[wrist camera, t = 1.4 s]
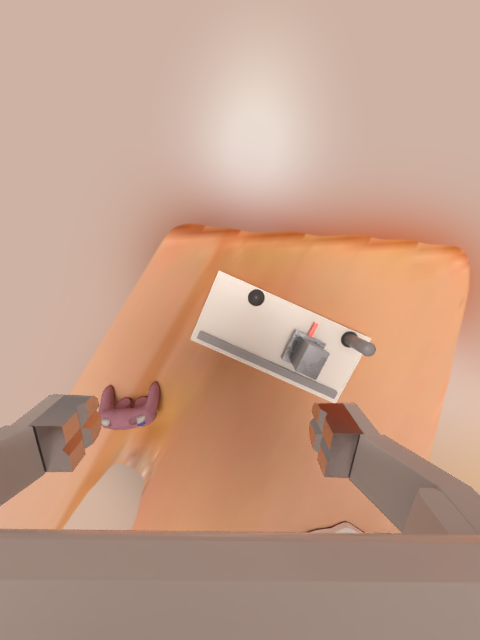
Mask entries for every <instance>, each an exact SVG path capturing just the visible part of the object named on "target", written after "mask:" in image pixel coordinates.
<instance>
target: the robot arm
mask: <svg viewBox="0 0 480 640" xmlns="http://www.w3.org/2000/svg"><path fill="white" fill-rule="evenodd" d="M98 407H99V402H98V398H96V397H95V396H82V395H58V394H54V395H49V396H48V397H47V398H45V399H44V400H43V401H42V402H40V403H39V404H38V405H37V406H35V407H34V408H32V409H31V410H30V411H29V412H27V413H26V414H25V415H24V416H22V417H21V418H20V419H18V420H17V421H16V422H15V423H13V424H12V425H11V426H4V427H1V428H0V506H1V505H2V504H4V503H5V502H7V501H8V500H9V499H11V498H12V497H14V496H15V495H16V494H18V493H19V492H20V491H22V490H23V489H25V488H26V487H27V486H29V485H30V484H32V483H33V482H34V481H36V480H37V479H38V478H40V477H41V476H43V475H44V474H45V472H73V470H74V469H75V468H76V466H77V465H78V464H79V462H80V461H81V460H82V458H83V457H84V455H85V448H87V447H88V446H90V445H92V444H93V443H94V442H95V440H96V439H97V437H98V435H99V433H100V430H101V424H102V420H101V416H100V415H99V413H98V412H97V411H96V410H97V408H98ZM312 413H313V415H314V418H313V419H312V420H311V421H310V427H309V433H310V440H311V444H312V447H313V449H314V450H316V451H317V452H318V458H317V460H318V462H319V465H320V467H321V470H322V473H323V475H324V477H339V478H349V480H350V481H351V482H352V483H353V484H354V485H355V486H356V487H357V488H358V489H359V490H360V491H361V492H362V493H363V494H364V495H365V496H366V497H367V498H368V499H369V500H370V501H371V502H372V503H373V504H374V505H375V506H376V507H377V508H378V509H379V510H380V511H381V512H382V513H383V514H384V515H385V516H386V517H387V518H388V519H389V520H390V521H391V522H392V523H393V524H394V525H395V526H396V527H397V528H398V529H399V530H400V531H401V532H402V534H389V533H363V532H362V531H360V530H359V529H357V528H356V527H354V526H353V525H351V524H350V523H347V522H344V523H341V524H338V525H336V526H334V527H332V528H328V529H320V530H315V531H312V532H309V533H307V532H224V531H137V530H60V529H0V640H480V495H479V494H477V492H476V491H474V489H473V488H471V487H470V486H468V485H467V484H465V483H463V482H461V481H460V480H458V479H457V478H455V477H453V476H452V475H450V474H448V473H447V472H445V471H443V470H442V469H440V468H438V467H437V466H435V465H433V464H432V463H430V462H429V461H427V460H425V459H424V458H422V457H420V456H419V455H417V454H415V453H414V452H412V451H410V450H409V449H407V448H405V447H404V446H402V445H400V444H399V443H397V442H395V441H394V440H392V439H390V438H389V437H387V436H385V435H380V434H379V433H378V431H377V430H376V429H375V427H374V426H373V425H372V424H371V422H370V421H369V420H368V418H367V417H366V416H365V415H364V413H363V412H362V411H361V409H360V408H359V407H358V405H357V404H355V403H314V405H313V408H312Z"/></svg>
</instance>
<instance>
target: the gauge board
mask: <svg viewBox="0 0 480 640" xmlns="http://www.w3.org/2000/svg"><path fill="white" fill-rule="evenodd" d="M314 322H315V323H317V324H318V326H317V328H316V330H315V332H314V334H313V336H312V337H313V338H316V339H318V340H320V341H322V342H324V343H326V346H325V348H324V349H325V350H326V351H327V352H329V353H330V355H329V357H328V359H327V360H326V362H325V364H324V366H323V368H322V370H321V372H320V374H319V376H318V378H317V379H316V380H314V379H312V378H310V377H308V376H305V375H303V374H301V373H299V372H296V371H295V369H294V367H293V365H292V364H291V363H289V362H286V361H284V360H282V358H281V356H282V354H283V352H284V350H285V348H286V346H287V344H288V342H289V340H290V338H291V336H292V334H293V332H294V330H295V329H296V330H298V331H300V332H302V333H304V334H307V335H308V334H309V332H310V330H311V328H312V326H313V324H314ZM190 340H192V341H194V342H197V343H199V344H201V345H203V346H206V347H208V348H210V349H213V350H215V351H217V352H219V353H222V354H224V355H226V356H228V357H231V358H233V359H235V360H237V361H240V362H242V363H244V364H246V365H249V366H251V367H253V368H256V369H258V370H260V371H262V372H265V373H267V374H269V375H271V376H274V377H276V378H278V379H280V380H283V381H285V382H287V383H289V384H292V385H294V386H296V387H299V388H301V389H303V390H305V391H308V392H310V393H312V394H314V395H317V396H319V397H321V398H323V399H326V400H328V401H330V402H332V403H336V402H337V400H338V399H339V397H340V395H341V393H342V391H343V389H344V388H345V386H346V384H347V382H348V380H349V378H350V377H351V375H352V373H353V371H354V369H355V368H356V366H357V364H358V362H359V360H360V358H361V357H362V355H365V356H372V355H373V354H374V353H375V351H376V348H375V346H374V345H373V344H372V343H370V340H371V338H369V337H367V336H364V335H362V334H360V333H358V332H355V331H353V330H351V329H349V328H346V327H344V326H342V325H340V324H338V323H335V322H333V321H331V320H329V319H326V318H324V317H322V316H320V315H317V314H315V313H313V312H311V311H309V310H306V309H304V308H302V307H300V306H297V305H295V304H293V303H291V302H288V301H286V300H284V299H282V298H280V297H277V296H275V295H273V294H271V293H268V292H266V291H264V290H262V289H259V288H257V287H255V286H253V285H250V284H248V283H246V282H244V281H242V280H239V279H237V278H235V277H233V276H230V275H228V274H226V273H224V272H221V271H218V274H217V276H216V279H215V281H214V283H213V286H212V288H211V291H210V293H209V295H208V298H207V300H206V303H205V305H204V307H203V310H202V312H201V315H200V317H199V319H198V322H197V324H196V327H195V329H194V331H193V334H192V336H191V339H190Z"/></svg>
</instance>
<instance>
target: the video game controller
mask: <svg viewBox="0 0 480 640" xmlns="http://www.w3.org/2000/svg"><path fill="white" fill-rule="evenodd" d="M158 401H159V386H158V384H157V383H156V382H154V383H152V385H151V386H150V388H149V393H148V397H147V398H146V397H141V398H138V399H137V400H136V401H135V403H134V406H135V408H131V407H132V403H131V401H130V399H128V398H124V399H122V400H120V401H119V402H118V403H117V404H116V405H114V392H113V388H112V387H111V386H108V387H106V388H105V390H104V391H103V394H102V398H101V403H100V408H99V415H100V416H101V420H102V424H101V425H102V426H103V427H104V428H109V429H113V430H126V429H132V428H136V427H138V426H146V425H149V424H150V423H152V422H153V421H154V420H155V418H156V415H157V411H156V410H157V406H158Z"/></svg>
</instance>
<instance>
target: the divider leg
mask: <svg viewBox="0 0 480 640" xmlns="http://www.w3.org/2000/svg"><path fill="white" fill-rule="evenodd" d="M317 326H318V324H317V323H315V322H314V324H313V326H312V328H311V330H310V332H309V334H308V335H307V334H304V333H302V332H300V331H298V330H296V329H295V330H294V332H293V334H292V336H291V338H290V340H289V342H288V344H287V346H286V348H285V350H284V352H283V354H282V356H281V358H282V360H284V361H286V362H289V363H291V364H292V365H293V367H294V369H295V371H296V372H299V373H301V374H303V375H305V376H308V377H310V378H312V379H314V380H316V379H317V378H318V376H319V374H320V372H321V370H322V368H323V366H324V364H325V362H326V360H327V359H328V357H329V355H330V353H329V352H327V351H326V350H325V349H324V348H325V346H326V343H324V342H322V341H320V340H318V339H316V338H313V337H312V336H313V334H314V332H315V330H316V328H317Z"/></svg>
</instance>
